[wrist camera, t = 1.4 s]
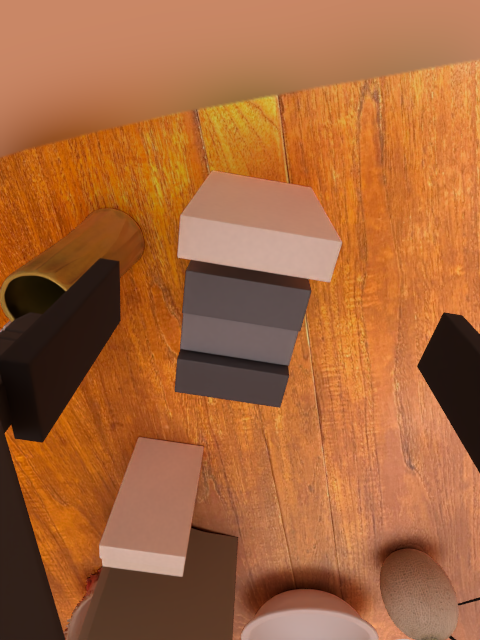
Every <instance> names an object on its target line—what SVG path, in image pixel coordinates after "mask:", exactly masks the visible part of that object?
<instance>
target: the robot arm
mask: <svg viewBox="0 0 480 640" xmlns="http://www.w3.org/2000/svg"><path fill="white" fill-rule="evenodd" d="M119 322H120V261H116V260H109V259H103V258H100V259H98V260H97V261H96V262H95V263H94V264H93V265H92V266H91V267H90V268H89V269H88V270H87V271H86V272H85V273H84V274H83V275H82V276H81V277H80V278H79V279H78V280H77V281H76V282H75V283H74V284H73V285H72V286H71V287H70V288H69V289H68V290H67V291H66V292H65V293H64V294H63V295H62V296H61V297H60V298H59V299H58V300H57V301H56V302H55V303H54V304H53V305H52V306H51V307H50V308H48V309H47V310H46V311H45V312H44V313H43V314H39V313H32V312H30V313H28V314H25V315H23V316H21V317H19V318H17V319H15V320H14V321H13V322H11V323H10V324H9V325H8V326H7V327H6V328H5V330H2V331H1V332H0V640H65V636H64V633H63V630H62V626H61V623H60V619H59V616H58V613H57V609H56V606H55V603H54V599H53V596H52V592H51V589H50V586H49V582H48V579H47V576H46V572H45V569H44V565H43V562H42V559H41V555H40V552H39V549H38V545H37V542H36V538H35V535H34V532H33V528H32V525H31V522H30V518H29V515H28V511H27V508H26V505H25V501H24V498H23V494H22V491H21V488H20V484H19V481H18V478H17V474H16V471H15V467H14V464H13V461H12V457H11V454H10V451H9V447H8V444H7V440H6V437H5V434H4V433H5V432H6V430H7V429H8V428H9V426H10V425H11V424H12V428H13V432H14V437H15V439H22V440H29V441H36V442H43V441H44V440H45V438H46V437H47V435H48V433H49V432H50V430H51V429H52V427H53V426H54V424H55V422H56V421H57V419H58V418H59V416H60V415H61V413H62V412H63V410H64V408H65V407H66V405H67V404H68V402H69V401H70V399H71V397H72V396H73V394H74V393H75V391H76V390H77V388H78V386H79V385H80V383H81V382H82V380H83V379H84V377H85V375H86V374H87V372H88V371H89V369H90V368H91V366H92V365H93V363H94V361H95V360H96V358H97V357H98V355H99V354H100V352H101V350H102V349H103V347H104V346H105V344H106V343H107V341H108V339H109V338H110V336H111V335H112V333H113V332H114V330H115V328H116V327H117V325H118V324H119ZM417 367H418V368H419V370H420V372H421V373H422V375H423V377H424V379H425V380H426V382H427V384H428V385H429V387H430V389H431V391H432V392H433V394H434V396H435V397H436V399H437V401H438V403H439V404H440V406H441V408H442V409H443V411H444V413H445V414H446V416H447V418H448V420H449V421H450V423H451V425H452V426H453V428H454V430H455V432H456V433H457V435H458V437H459V438H460V440H461V442H462V444H463V445H464V447H465V449H466V450H467V452H468V454H469V456H470V457H471V459H472V461H473V462H474V464H475V466H476V467H477V469H478V471H479V473H480V334H479V333H478V332H477V331H476V330H475V329H474V328H473V327H472V326H471V324H470V323H469V322H468V321H467V320H466V319H465V318H464V317H463V316H462V315H456V314H450V313H443V315H442V317H441V319H440V321H439V323H438V325H437V327H436V329H435V331H434V333H433V335H432V337H431V339H430V341H429V343H428V345H427V347H426V349H425V351H424V353H423V355H422V357H421V359H420V362H419V364H418V366H417Z"/></svg>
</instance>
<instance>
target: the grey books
mask: <svg viewBox="0 0 480 640" xmlns="http://www.w3.org/2000/svg"><path fill="white" fill-rule="evenodd" d="M310 294H311V288H310V284H309V280H308V279H306V278H300V277H294V276H288V275H281V274H275V273H269V272H263V271H257V270H251V269H245V268H239V267H232V266H226V265H220V264H214V263H208V262H202V261H196V260H190V263H189V265H188V267H187V270H186V275H185V287H184V298H183V310H182V313H183V321H182V332H181V344H180V352H179V355H178V358H177V369H176V381H175V392H180V393H187V394H193V395H200V396H206V397H213V398H220V399H226V400H233V401H240V402H246V403H253V404H260V405H266V406H273V407H279V408H280V406H281V403H282V399H283V396H284V392H285V389H286V385H287V382H288V378H289V370H288V366H289V364H290V360H291V356H292V353H293V349H294V346H295V342H296V338H297V335H298V331H300V330H301V326H302V323H303V319H304V316H305V312H306V308H307V305H308V301H309V298H310Z"/></svg>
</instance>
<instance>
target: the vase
mask: <svg viewBox="0 0 480 640" xmlns="http://www.w3.org/2000/svg"><path fill="white" fill-rule="evenodd" d="M143 250H144V238H143V234H142V231H141V229H140V228H139V226H138V225H137V223H136V222H135V221H134V220H133V219H132V218H131V217H130V216H129V215H127V214H126V213H124V212H122V211H120V210H117V209H113V208H103V209H98V210H95V211H93V212H92V213H91V214H89V215H88V216H87V217H86V218H85V220H84V221H83V222H82V223H81V224H80V225H78V226H77V227H76V228H75V229H73V230H72V231H71V232H70V233H69V234H68V235H67V236H66V237H64V238H63V239H61V240H60V241H58V242H57V243H56V244H54V245H53V246H51V247H50V248H48V249H47V250H45V251H44V252H42V253H41V254H40V255H38V256H37V257H35V258H34V259H32V260H31V261H29V262H28V263H26V264H25V265H23V266H22V267H20V268H19V269H18V270H16V271H15V272H13V273H12V274H11V275H9V276H8V277H7V279H6V280H5V281H4V283H3V285H2V287H1V290H0V303H1V306H2V309H3V311H4V313H5V314H6V316H7V317H8V318H9V319H10V321H11V322H13V321H14V320H15V319H17V318H19V317H21V316H23V315H25V314H28V313H30V312H32V313H39V314H43V313H44V312H45V311H46V310H47V309H48V308H50V307H51V306H52V305H53V304H54V303H55V302H56V301H57V300H58V299H59V298H60V297H61V296H62V295H63V294H64V293H65V292H66V291H67V290H68V289H69V288H70V287H71V286H72V285H73V284H74V283H75V282H76V281H77V280H78V279H79V278H80V277H81V276H82V275H83V274H84V273H85V272H86V271H87V270H88V269H89V268H90V267H91V266H92V265H93V264H94V263H95V262H96V261H97V260H98V259H100V258H103V259H109V260H116V261H120V278H121V277H122V276H123V275H124V274H125V273H126V272H127V271H128V270H129V269H130V268H131V266H132V265H134V264H135V263H136V262H137V261H138V260H139V259H140V257H141V256H142V253H143Z"/></svg>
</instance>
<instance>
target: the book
mask: <svg viewBox="0 0 480 640" xmlns="http://www.w3.org/2000/svg"><path fill="white" fill-rule="evenodd" d="M237 547H238V537H232V536H226V535H219V534H213V533H207V532H203V531H199V530H196V529H193V528H191V530H190V536H189V542H188V548H187V554H186V560H185V566H184V572H183V576H182V577H180V576H172V575H165V574H157V573H150V572H142V571H135V570H127V569H120V568H112V567H105V566H103V567H102V570H101V573H100V576H99V579H98V581H97V584H96V587H95V590H94V593H93V596H92V599H91V602H90V605H89V608H88V611H87V614H86V616H85V619H84V622H83V625H82V628H81V631H80V634H79V637H78V640H232V637H233V619H234V601H235V583H236V565H237Z"/></svg>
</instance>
